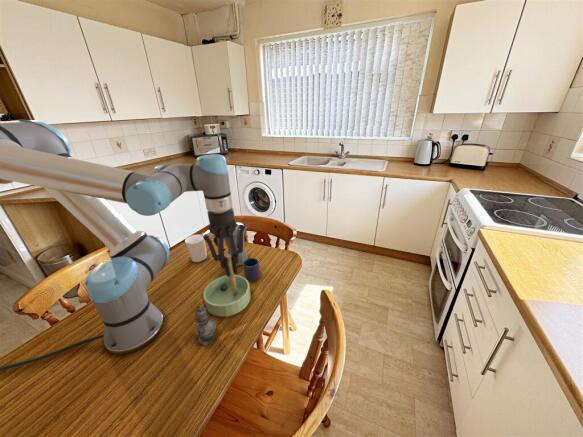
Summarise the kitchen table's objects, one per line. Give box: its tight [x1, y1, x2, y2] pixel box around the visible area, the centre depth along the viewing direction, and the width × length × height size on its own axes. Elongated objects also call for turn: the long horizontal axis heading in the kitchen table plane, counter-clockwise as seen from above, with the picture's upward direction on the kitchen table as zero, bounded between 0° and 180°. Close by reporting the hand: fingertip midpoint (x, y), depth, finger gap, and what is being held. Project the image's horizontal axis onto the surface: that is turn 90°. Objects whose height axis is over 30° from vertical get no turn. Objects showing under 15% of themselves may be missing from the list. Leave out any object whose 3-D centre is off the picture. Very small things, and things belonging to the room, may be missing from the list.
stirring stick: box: [224, 253, 238, 295], centre depth 81 cm, size 2×2×16 cm
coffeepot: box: [213, 225, 249, 267], centre depth 100 cm, size 15×9×18 cm, turn 129°
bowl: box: [202, 274, 252, 318], centre depth 82 cm, size 15×15×5 cm
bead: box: [220, 284, 227, 291], centre depth 86 cm, size 2×2×2 cm
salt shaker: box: [194, 306, 217, 346], centre depth 67 cm, size 6×6×12 cm
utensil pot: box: [242, 257, 261, 282], centre depth 92 cm, size 6×6×7 cm
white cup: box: [184, 234, 208, 263], centre depth 105 cm, size 8×8×10 cm
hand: (231, 273), depth 80 cm, fingers closed on stirring stick, 2 cm apart
